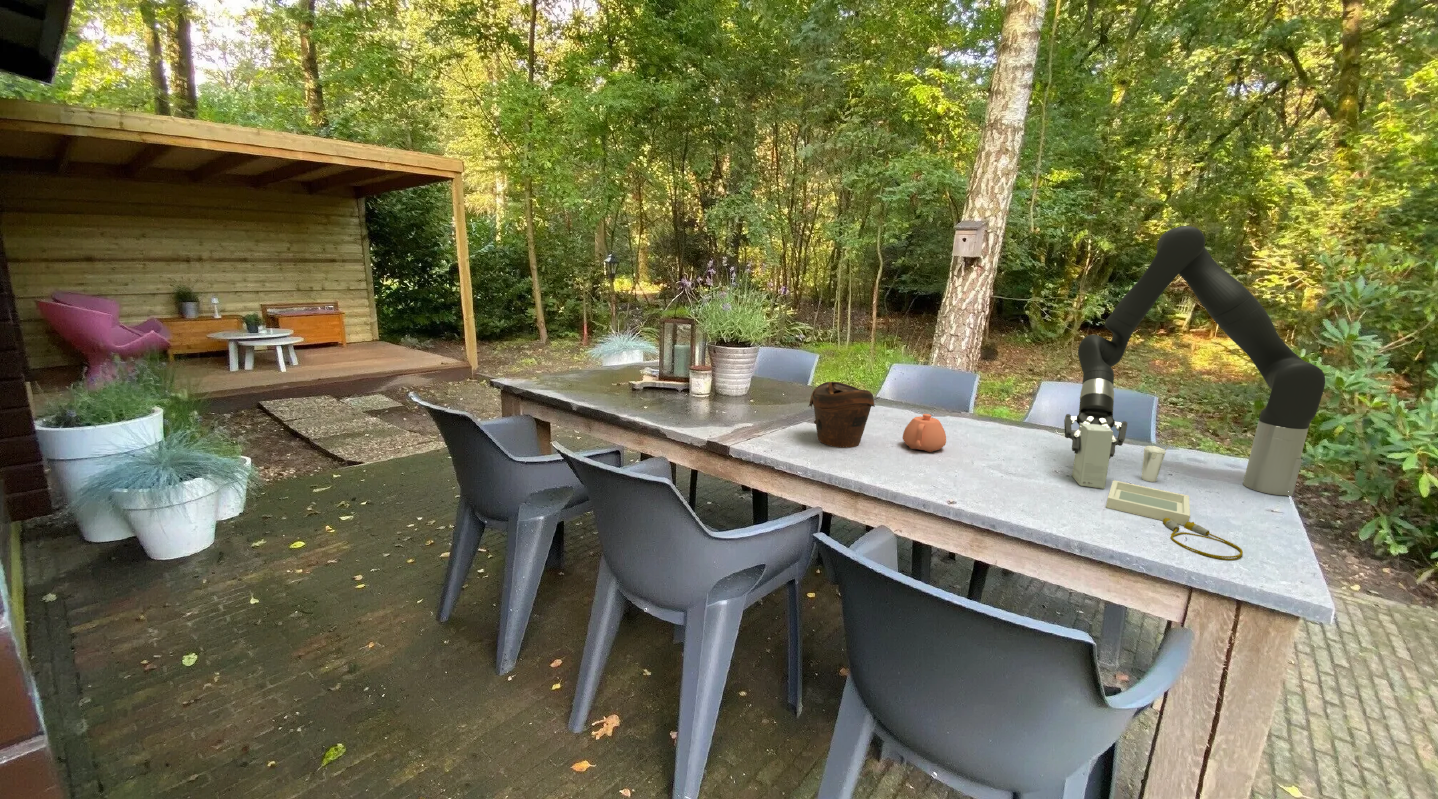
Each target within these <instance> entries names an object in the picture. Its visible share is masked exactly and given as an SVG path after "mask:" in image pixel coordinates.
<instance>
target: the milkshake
mask: <svg viewBox="0 0 1438 799" xmlns="http://www.w3.org/2000/svg"><path fill="white" fill-rule="evenodd" d="M1170 445H1171V444H1170V443H1169V444H1168V445H1167V446H1166V447H1165V449H1164V448H1162V447H1159V446H1156V445H1146V446H1145V447H1144V448H1143V449H1144V450H1143V458H1142V459H1143V460H1142V468H1141V475H1140V476H1141V480H1143V481H1146V482H1150V483H1153V482H1155V483H1156V482H1157V480H1158V477H1159V474H1160V470H1161V468H1162V463H1163V461H1164V458H1165V455H1166V451H1167V450H1168V448H1170Z"/></svg>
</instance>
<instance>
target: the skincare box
mask: <svg viewBox="0 0 1438 799" xmlns="http://www.w3.org/2000/svg"><path fill="white" fill-rule="evenodd" d="M1080 426H1081V434H1080V436H1079V438H1080V442H1079V451H1078V454H1076V453H1074V459H1073V467H1072V473H1071V476H1072V478H1073V479H1074V480H1075V481H1076V482H1077V483H1078V485H1079V486H1080V487H1081V486H1082V487H1088V488H1089V487H1090V488H1095V489H1102V490H1103V489H1105V488H1106V482H1107V477H1108V470H1109V463H1110V459H1109V457H1110V450H1111V444H1112V437H1113V435H1114V431H1113V430H1112V429H1111V430H1110V429H1109V428H1108V427H1106V426H1102V425H1098V424H1083V423H1080V425H1079V424H1078V428H1079V427H1080Z"/></svg>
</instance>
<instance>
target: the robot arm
mask: <svg viewBox="0 0 1438 799" xmlns="http://www.w3.org/2000/svg"><path fill="white" fill-rule="evenodd" d="M1205 246H1206V237H1205V235H1204V233H1203V231H1201V230H1200V229H1199V228H1197V227H1195V226H1191V225H1183V226H1182V225H1180V226H1177V227H1173V228H1171V229H1169V230H1167V231H1165V232H1164V233H1163V234H1162V235H1161V236H1160V237H1159V239H1158V241H1157V244H1156V253H1155V255H1154V257H1153V259H1152V261H1151V263H1150V265H1149V267H1148V268H1147V269H1146V270H1145V272H1144V274H1142V275H1141V277H1140V278H1139V279H1138V281H1137V282H1136V283H1135V284H1134V285H1133V286H1132V287H1131V289H1129V290H1128V292H1127V293H1126V294H1125V295H1124V296H1123V297H1122V298H1121V300H1120V301H1119V302H1118V303H1117V305H1116V306H1115V308H1114V309H1113V310H1112V312H1111V314H1109V316H1108V317H1107V318H1106V319H1105V322H1104V327H1105V328H1106V329H1107V330H1108V331H1110V332H1111V333H1112V337H1111V340H1109V339H1107V338H1105V337H1102V336H1100V335H1098V334H1089V335H1087V336H1085V337H1084V338H1083V339H1081V341H1080V343H1079V345H1078V350H1077V355H1078V356H1077V357H1078V360H1079V363H1080V366H1081V371H1082V374H1083V375H1082V386H1081V390H1080V395H1079V409H1078V414H1077V415H1075V416H1074V415H1073V416H1072V415H1071V414H1070V413H1066V414H1065V416H1064V420H1063V422H1064V426H1063V427H1064V437H1065V438H1066V439H1071V451H1072V452H1074V454H1075V453H1076V454H1078V451H1079V442H1080V438H1079V436H1080V434H1081V426H1080V427H1079V425H1080V423H1083V424H1098V425H1102V426H1106V427H1108V428H1109V429H1110V430H1112V428H1114V427H1115V430H1116V431H1117V432H1118V435H1117V438H1116V436H1114V434H1113V437H1112V444H1111V450H1110V457H1109V460H1110V459H1111V458H1113V457H1114V456H1115V453H1116V446H1120V447H1121V446H1123V445H1124V444H1123V443H1124V442H1125V439H1126V435H1127V428H1128V422H1127V421H1126V420H1123V421H1122V422H1119V421H1116V420H1115V419H1114V402H1115V391H1114V384H1115V383H1114V382H1115V379H1114V378H1115V371H1114V370H1113V367H1115V365H1117V364H1119V362H1121V360H1122V358H1123V356H1124V354H1125V351H1126V349H1127V346H1128V344H1129V341H1130V339H1131V336H1132V334H1133V332H1134V331H1135V330H1136V328H1138V326H1139V325H1140V324H1141V322H1142V320H1144V318H1145V317H1146V316H1147V314H1148V313H1149V311H1150V310H1151V309H1152V308H1153V306H1154V305H1155V303H1156V302H1157V300H1158V299H1160V298H1159V297H1160V296H1161V295H1162V294H1163V293H1164V291H1165V290H1166V289H1167V288H1168V286H1169V285H1170V284H1171V283H1172V282H1173V281H1174V280H1175V278H1177V276H1178V275H1179V276H1180V277H1181V278H1182V279H1183V280H1184V281H1185V282H1186V283H1187V285H1188V286H1189V287H1190V289H1191V291H1192V293H1193V294H1194V295H1195V296H1196V299H1197V300H1198V301H1199V302H1200V304H1201V306H1202V307H1203V308H1204V309H1205V310H1206V312H1207V313H1208V315H1209V316H1210V317H1211V318H1212V319H1213V320H1214V322H1215V324H1216V325H1217V326H1218V327H1219V328H1220V329H1221V330H1222V331H1223V332H1224V333H1225V334H1226V335H1227V337H1228V338H1230V340H1232V341H1233V342H1234V343H1235V344H1236V345H1237V346H1238V347H1239V348H1240V349H1241V350H1242V351H1243V352H1244V353H1245V354H1246V355H1247V356H1248V357H1249V359H1250V360H1251V362H1252V363H1253V364H1254V366H1255V367H1256V368H1257V370H1258V371H1259V374H1260V375H1261V376H1262V378H1263V380H1264V381H1265V383H1266V385H1267V386H1268V387H1269V388H1270V389H1271V392H1270V394H1269V398H1268V402H1267V404H1266V406H1265V407H1264V408H1263V409H1262V410H1261V412H1260V414H1259V417H1258V418H1259V419H1258V422H1257V425H1256V429H1255V433H1254V437H1253V438H1254V439H1253V441H1252V446H1251V450H1250V454H1249V458H1248V462H1247V465H1246V470H1245V474H1244V477H1243V482H1242V485H1243V486H1244V487H1246V488H1248V489H1251V490H1254V491H1256V492H1261V493H1265V494H1269V495H1276V496H1287V497H1293V495H1294V492H1295V488H1296V485H1297V481H1298V476H1299V473H1300V470H1301V466H1302V464H1303V459H1302V454H1303V450H1304V446H1305V442H1306V439H1307V435H1308V431H1309V428H1310V425H1311V422H1312V421H1313V419H1314V418H1315V417H1316V415H1317V412H1318V410H1319V407H1320V402H1321V401H1322V397H1323V395H1324V390H1325V386H1326V376H1325V373H1324V372H1323V370H1322V369H1321V368H1320V367H1319V366H1317V365H1315V364H1313V363H1311V362H1308V361H1305V360H1304V359H1302V358H1301V357H1299V355H1298V354H1296V352H1294V351H1293V350H1292V348H1290V347H1289V346H1288V345H1287V343H1285V342H1284V341H1283V340H1282V338H1281V337H1280V336H1279V333H1278V332H1277V330H1276V328H1275V326H1274V323H1273V321H1272V319H1271V318H1270V316H1269V314H1268V312H1267V310H1266V309H1265V308H1264V306H1263V305H1262V304H1261V303H1260V302H1259V301H1258V300H1257V298H1256V297H1255V296H1254V295H1253V294H1252V293H1251V291H1249V289H1247V288H1246V286H1244V285H1243V284H1242V283H1241V282H1240V281H1238V280H1237V279H1236V278H1235V277H1234V276H1232V274H1230V273H1229V272H1227V271H1226V270H1225V269H1223V268H1222V267H1221V266H1220V265H1219V263H1217V262H1216V261H1215V259H1214V258H1213V257H1212V255H1211V254H1210V253H1209V251H1208V249H1206V247H1205ZM1074 423H1077V425H1078V429H1077V430H1076V431H1075V432H1074V431H1072V425H1074ZM1288 491H1289V492H1288Z"/></svg>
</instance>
